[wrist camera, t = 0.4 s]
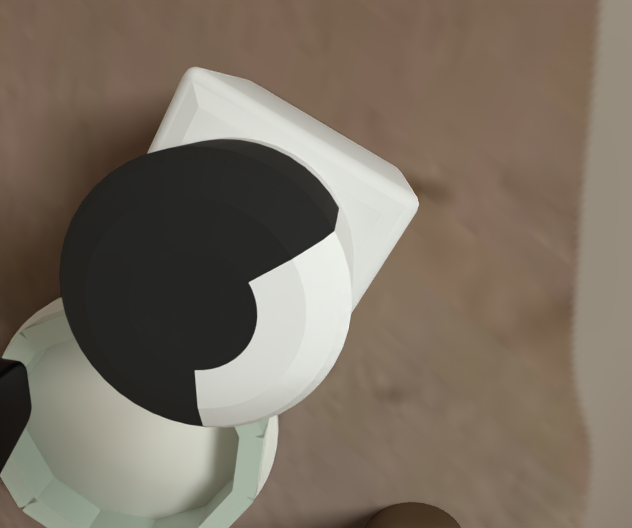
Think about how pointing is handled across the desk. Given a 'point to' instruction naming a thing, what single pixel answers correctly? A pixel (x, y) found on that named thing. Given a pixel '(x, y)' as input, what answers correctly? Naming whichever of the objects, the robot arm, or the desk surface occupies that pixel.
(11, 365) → the robot arm
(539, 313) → the desk surface
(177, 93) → the medicine bottle
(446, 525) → the brown domed cylinder
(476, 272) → the desk surface
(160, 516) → the ring dish
